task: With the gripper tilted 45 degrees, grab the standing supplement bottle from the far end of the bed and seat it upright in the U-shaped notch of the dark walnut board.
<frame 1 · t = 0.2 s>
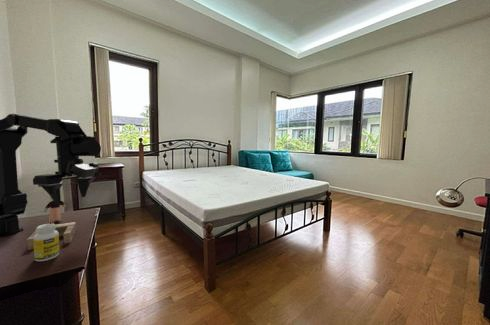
hand: (71, 200, 71), 14 cm above the table, tool pointing down, fingers open, 9 cm apart
notched board: (54, 239, 72), on the table
supplement bottle: (47, 257, 61), on the table
grandmother figurine: (56, 221, 88), on the table
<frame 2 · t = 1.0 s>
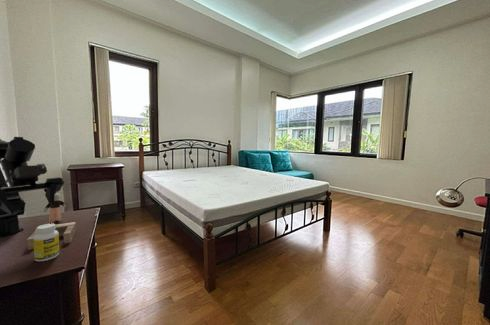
hand: (34, 209, 64), 13 cm above the table, tool tilted 45°, fingers open, 9 cm apart
nothing on the table moved.
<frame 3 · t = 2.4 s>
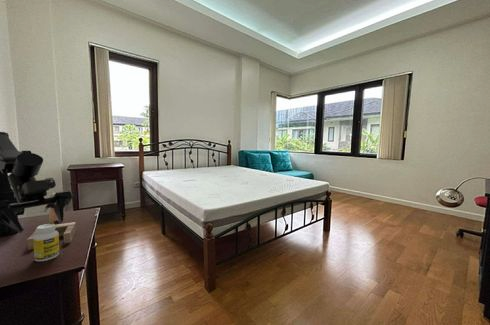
hand: (43, 226, 61), 9 cm above the table, tool tilted 45°, fingers open, 9 cm apart
nothing on the table moved.
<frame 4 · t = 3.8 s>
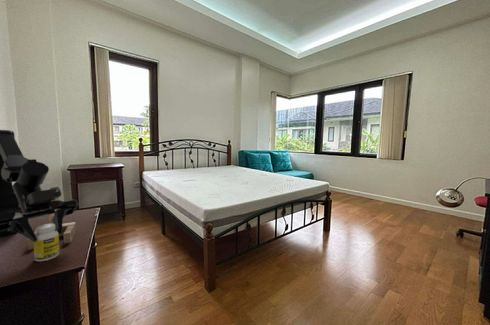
hand: (48, 237, 60), 7 cm above the table, tool tilted 45°, fingers closed on supplement bottle, 5 cm apart
supplement bottle: (47, 257, 61), on the table, touching gripper
everything else where it was.
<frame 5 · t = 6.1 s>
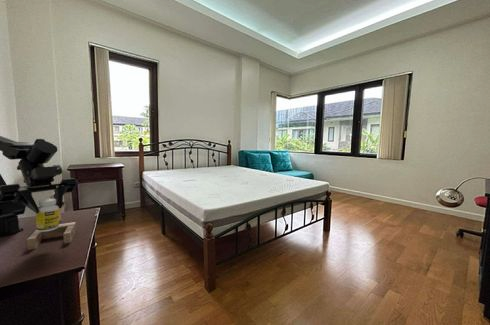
hand: (49, 209, 65), 13 cm above the table, tool tilted 45°, fingers closed on supplement bottle, 5 cm apart
supplement bottle: (47, 229, 66), point 6 cm above the table, touching gripper
everything else where it was.
when the fingers open (8 cm above the table, at t = 8.2 s): supplement bottle drops 1 cm, on the table.
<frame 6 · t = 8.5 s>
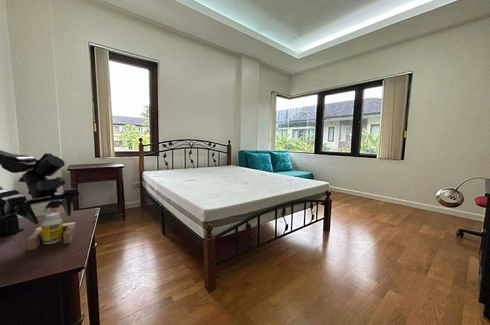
hand: (54, 219, 70), 8 cm above the table, tool tilted 45°, fingers open, 8 cm apart
supplement bottle: (52, 241, 71), on the table
everything else where it was.
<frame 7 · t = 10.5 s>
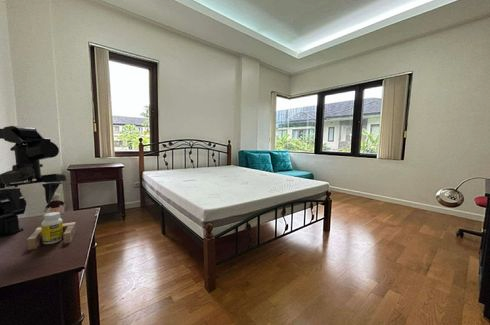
hand: (32, 205, 70), 12 cm above the table, tool pointing down, fingers open, 9 cm apart
nothing on the table moved.
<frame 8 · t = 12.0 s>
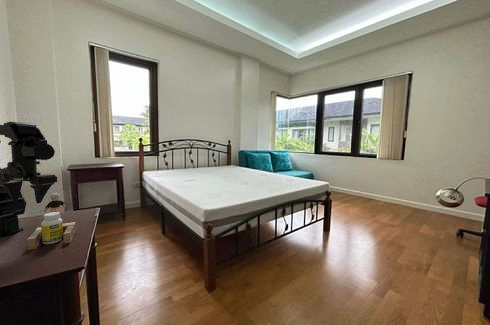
hand: (27, 202, 71), 13 cm above the table, tool pointing down, fingers open, 9 cm apart
nothing on the table moved.
at the end: supplement bottle 0.9 cm from the notched board (horizontally); supplement bottle tilted 0°; supplement bottle on the table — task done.
